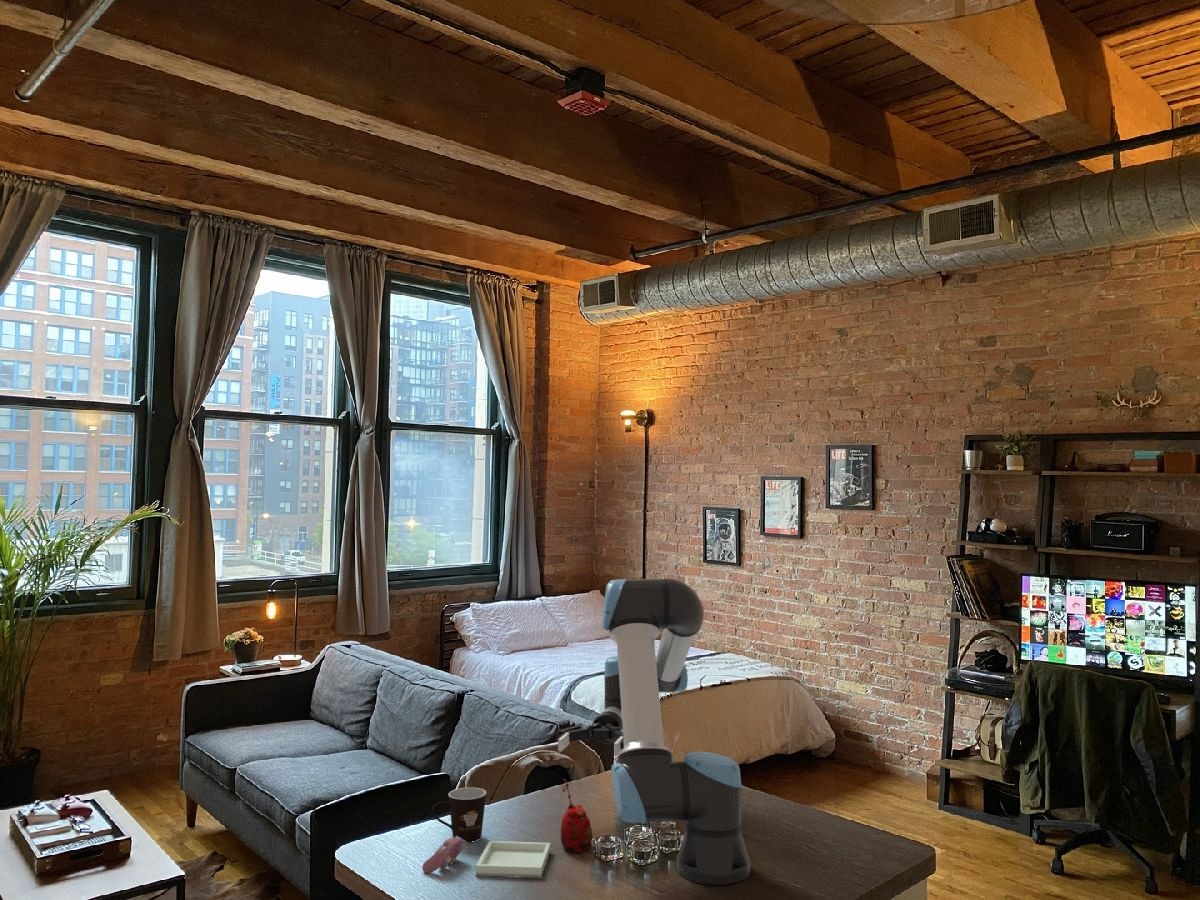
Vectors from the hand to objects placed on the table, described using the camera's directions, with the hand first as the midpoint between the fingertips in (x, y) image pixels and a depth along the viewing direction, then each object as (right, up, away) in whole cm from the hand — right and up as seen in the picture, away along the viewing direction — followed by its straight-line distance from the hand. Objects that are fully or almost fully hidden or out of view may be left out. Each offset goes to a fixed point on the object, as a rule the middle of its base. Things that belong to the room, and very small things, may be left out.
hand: (587, 747), depth 210 cm
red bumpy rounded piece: (-2, -19, -11) cm, 22 cm away
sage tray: (-15, -18, -20) cm, 31 cm away
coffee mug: (-29, -19, -4) cm, 35 cm away
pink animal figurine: (-30, -18, -21) cm, 41 cm away
